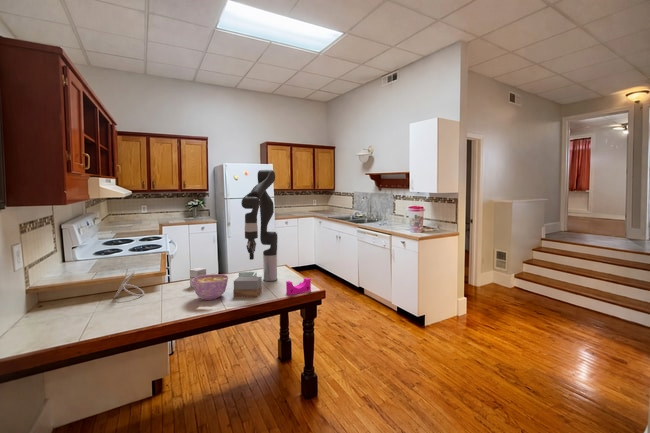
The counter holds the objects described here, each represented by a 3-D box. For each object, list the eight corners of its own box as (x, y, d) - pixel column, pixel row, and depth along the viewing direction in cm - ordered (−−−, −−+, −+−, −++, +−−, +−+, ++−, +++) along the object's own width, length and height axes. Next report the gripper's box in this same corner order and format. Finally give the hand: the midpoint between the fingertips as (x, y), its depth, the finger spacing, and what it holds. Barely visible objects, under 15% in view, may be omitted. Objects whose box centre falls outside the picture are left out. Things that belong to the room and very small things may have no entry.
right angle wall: (239, 282, 211) (238, 272, 211) (256, 282, 212) (256, 271, 212) (235, 287, 199) (235, 276, 199) (254, 287, 200) (254, 275, 200)
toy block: (305, 288, 196) (305, 277, 195) (310, 290, 190) (310, 279, 190) (284, 292, 187) (284, 280, 187) (289, 295, 182) (289, 282, 182)
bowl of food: (205, 291, 190) (205, 273, 189) (235, 293, 186) (234, 274, 185) (184, 302, 170) (183, 281, 170) (217, 304, 166) (216, 283, 166)
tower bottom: (239, 292, 188) (239, 284, 188) (261, 293, 187) (261, 285, 187) (233, 297, 178) (233, 289, 178) (257, 298, 177) (256, 289, 177)
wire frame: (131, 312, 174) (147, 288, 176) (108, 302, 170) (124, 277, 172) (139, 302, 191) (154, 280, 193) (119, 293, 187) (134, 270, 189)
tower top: (239, 284, 188) (238, 276, 188) (261, 284, 188) (261, 276, 187) (233, 289, 178) (233, 281, 178) (257, 289, 178) (257, 280, 177)
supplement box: (189, 288, 197) (189, 269, 197) (199, 286, 204) (198, 267, 203) (197, 290, 194) (196, 270, 193) (206, 287, 200) (206, 268, 200)
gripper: (248, 229, 188) (248, 257, 189) (241, 231, 175) (242, 261, 176) (260, 229, 188) (260, 257, 189) (254, 231, 175) (255, 261, 176)
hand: (251, 259), depth 182 cm, fingers closed
